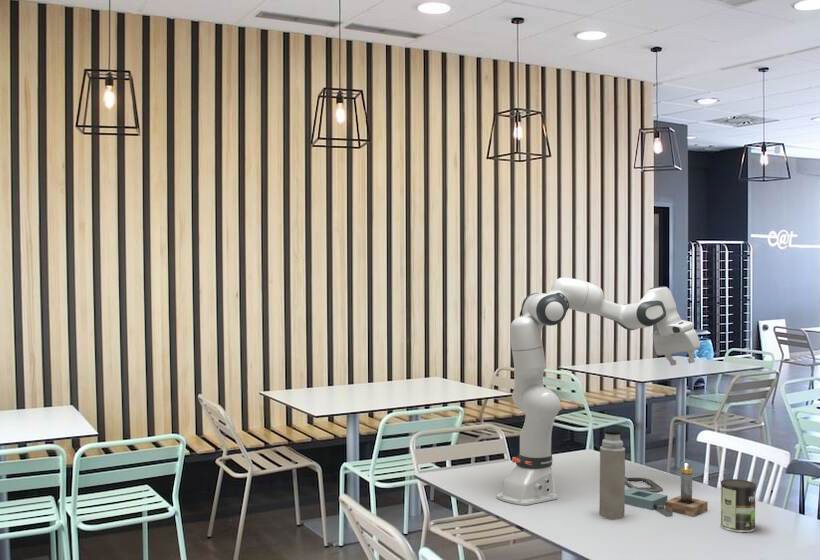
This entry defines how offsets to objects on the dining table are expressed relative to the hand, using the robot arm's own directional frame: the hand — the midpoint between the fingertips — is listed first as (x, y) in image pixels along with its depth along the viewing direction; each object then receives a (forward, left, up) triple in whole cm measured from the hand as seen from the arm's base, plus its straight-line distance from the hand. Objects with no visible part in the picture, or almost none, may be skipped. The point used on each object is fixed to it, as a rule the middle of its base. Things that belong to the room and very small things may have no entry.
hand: (682, 363), depth 313 cm
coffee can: (-31, -36, -46) cm, 66 cm away
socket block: (-26, -16, -45) cm, 55 cm away
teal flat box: (-29, -1, -45) cm, 54 cm away
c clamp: (-12, +11, -46) cm, 49 cm away
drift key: (-34, -12, -45) cm, 58 cm away
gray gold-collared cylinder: (-26, -16, -45) cm, 55 cm away
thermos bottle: (-49, -2, -46) cm, 67 cm away
